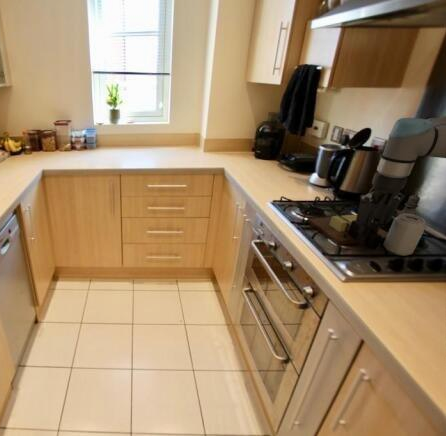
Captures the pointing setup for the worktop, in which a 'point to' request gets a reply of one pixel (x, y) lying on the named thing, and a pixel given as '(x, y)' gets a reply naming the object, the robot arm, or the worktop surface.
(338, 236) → the board
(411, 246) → the can
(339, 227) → the butter slice
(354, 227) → the knife
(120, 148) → the worktop surface
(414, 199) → the salt shaker
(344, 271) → the worktop surface
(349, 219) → the butter
